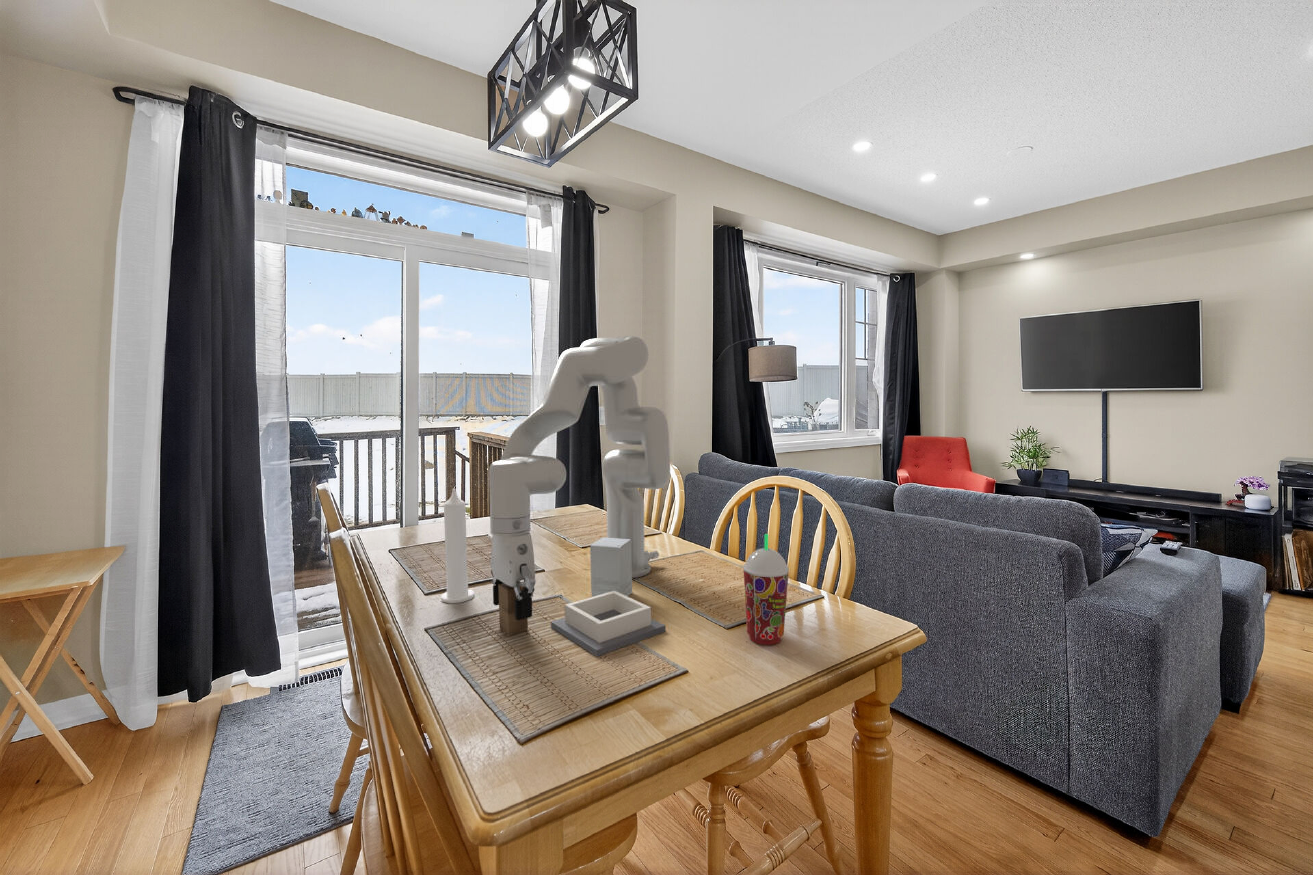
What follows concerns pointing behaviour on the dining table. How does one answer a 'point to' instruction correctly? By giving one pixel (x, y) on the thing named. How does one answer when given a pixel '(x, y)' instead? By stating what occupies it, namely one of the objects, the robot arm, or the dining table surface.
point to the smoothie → (765, 595)
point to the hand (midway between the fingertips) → (512, 610)
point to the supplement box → (611, 566)
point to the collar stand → (607, 622)
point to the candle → (456, 551)
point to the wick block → (509, 611)
